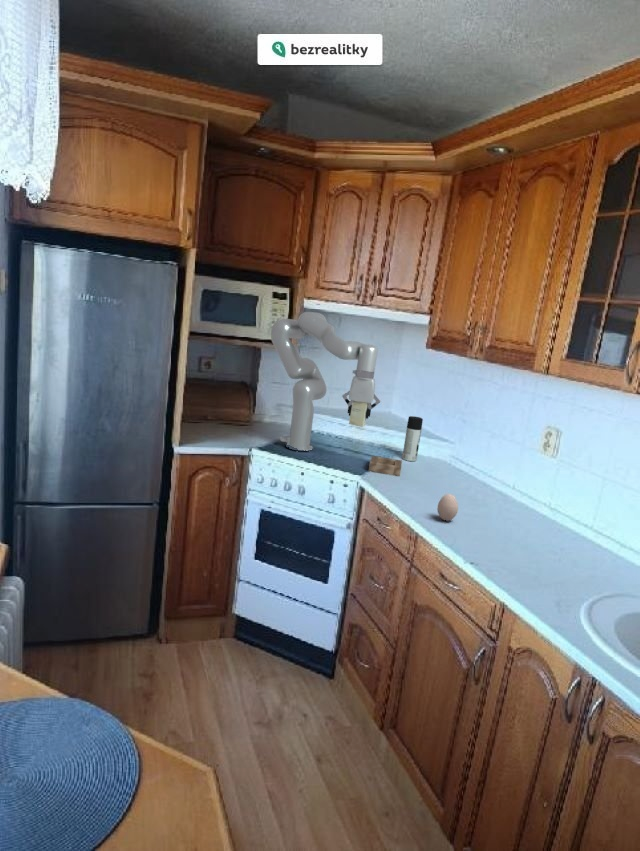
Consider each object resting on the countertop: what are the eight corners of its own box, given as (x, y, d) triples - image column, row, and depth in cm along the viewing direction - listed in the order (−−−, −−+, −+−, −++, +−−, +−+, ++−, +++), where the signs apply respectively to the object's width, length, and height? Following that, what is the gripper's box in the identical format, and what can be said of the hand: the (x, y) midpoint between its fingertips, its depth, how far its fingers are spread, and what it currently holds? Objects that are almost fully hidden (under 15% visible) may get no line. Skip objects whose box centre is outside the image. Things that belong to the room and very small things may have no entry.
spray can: (417, 462, 261) (424, 420, 257) (402, 460, 261) (409, 418, 257) (415, 458, 267) (422, 417, 263) (401, 456, 267) (407, 415, 263)
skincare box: (348, 424, 240) (352, 396, 237) (351, 422, 244) (355, 394, 241) (362, 427, 238) (367, 398, 235) (365, 425, 242) (370, 397, 239)
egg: (442, 524, 187) (447, 498, 185) (431, 516, 192) (436, 491, 191) (459, 523, 189) (464, 497, 187) (448, 516, 195) (452, 490, 193)
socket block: (368, 471, 237) (369, 463, 236) (370, 463, 249) (372, 455, 249) (399, 476, 235) (401, 468, 234) (400, 468, 248) (401, 460, 247)
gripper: (343, 372, 234) (336, 414, 238) (385, 379, 231) (378, 421, 235) (345, 370, 241) (339, 411, 245) (386, 377, 239) (379, 418, 243)
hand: (358, 416), depth 240 cm, fingers closed on skincare box, 6 cm apart
